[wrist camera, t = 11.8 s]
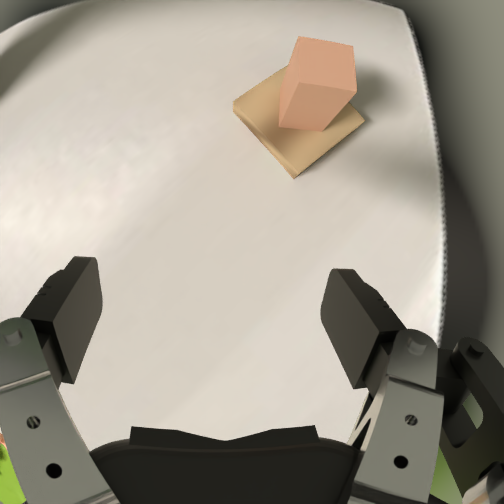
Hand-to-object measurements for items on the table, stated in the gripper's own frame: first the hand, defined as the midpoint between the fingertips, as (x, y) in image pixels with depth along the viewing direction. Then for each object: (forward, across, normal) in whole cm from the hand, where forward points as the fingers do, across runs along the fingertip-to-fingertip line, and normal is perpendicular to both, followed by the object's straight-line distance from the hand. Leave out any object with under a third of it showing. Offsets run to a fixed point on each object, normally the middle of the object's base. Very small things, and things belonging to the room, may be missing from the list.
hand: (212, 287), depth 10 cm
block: (+20, -8, -6) cm, 23 cm away
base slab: (+23, -8, -5) cm, 25 cm away
